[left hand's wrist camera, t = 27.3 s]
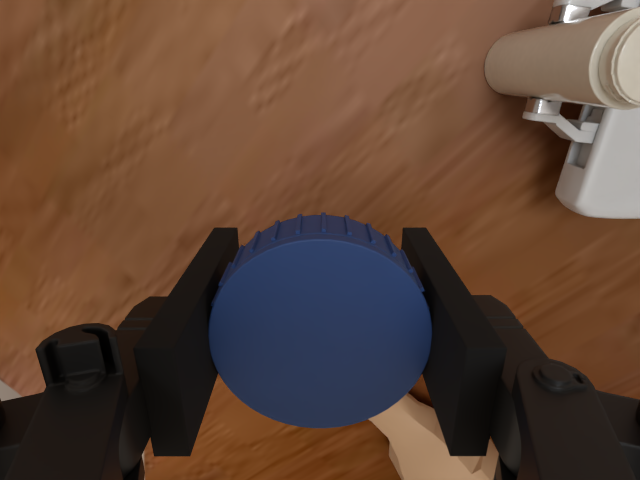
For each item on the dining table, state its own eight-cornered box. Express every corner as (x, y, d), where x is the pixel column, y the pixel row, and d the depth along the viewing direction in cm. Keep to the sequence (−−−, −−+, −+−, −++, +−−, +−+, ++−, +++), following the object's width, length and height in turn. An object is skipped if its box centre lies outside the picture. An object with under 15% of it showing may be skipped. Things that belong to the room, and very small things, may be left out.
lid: (180, 312, 12) (158, 350, 10) (311, 166, 10) (310, 183, 9) (326, 415, 13) (327, 462, 12) (461, 299, 12) (483, 335, 10)
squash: (443, 486, 53) (447, 564, 45) (333, 381, 50) (316, 444, 42) (519, 453, 48) (539, 533, 40) (403, 336, 46) (399, 397, 38)
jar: (481, 39, 34) (610, 13, 19) (542, 25, 34) (723, -13, 19) (485, 101, 36) (606, 122, 21) (544, 88, 35) (709, 100, 20)
